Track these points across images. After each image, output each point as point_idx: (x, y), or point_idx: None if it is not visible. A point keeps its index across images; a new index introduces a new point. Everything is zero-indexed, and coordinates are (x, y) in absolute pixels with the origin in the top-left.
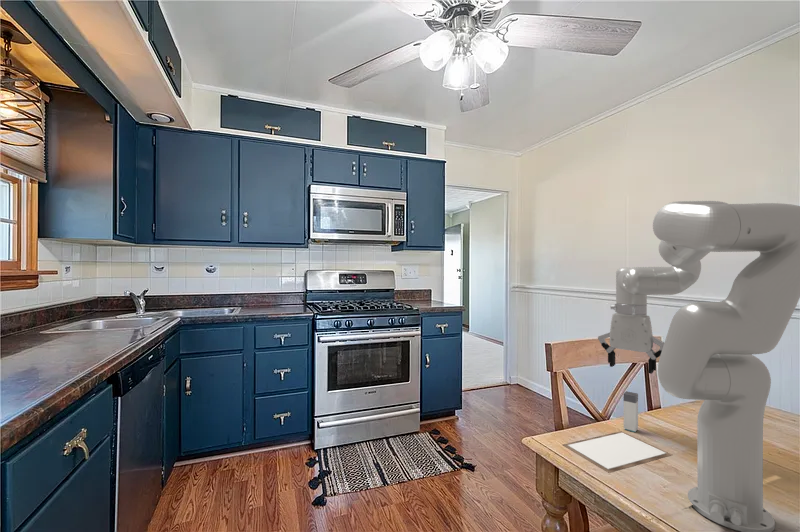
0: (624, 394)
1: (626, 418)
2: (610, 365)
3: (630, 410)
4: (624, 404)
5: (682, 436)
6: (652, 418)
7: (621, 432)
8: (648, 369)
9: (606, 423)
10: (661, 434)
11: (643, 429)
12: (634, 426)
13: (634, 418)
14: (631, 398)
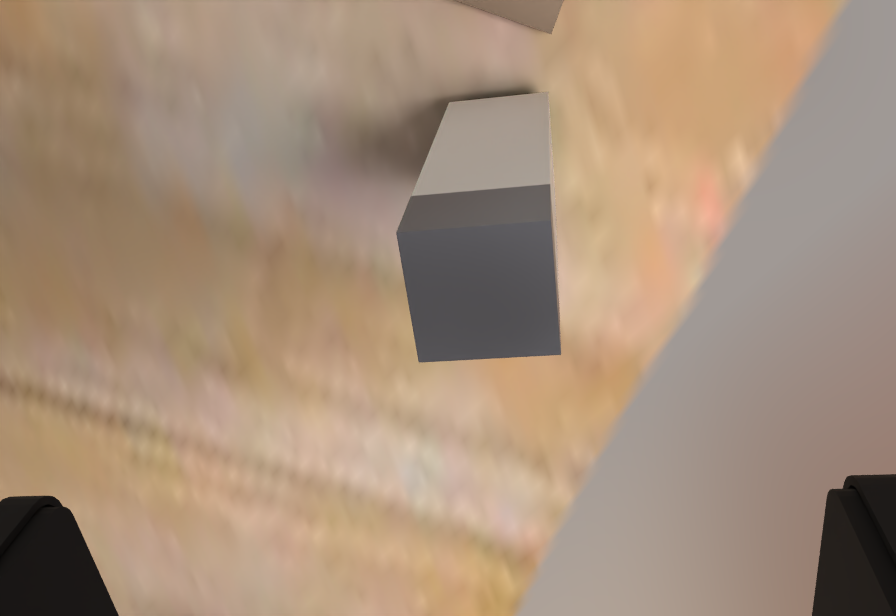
0: (538, 218)
1: (521, 123)
2: (892, 488)
3: (477, 158)
4: (539, 168)
5: (237, 344)
6: (479, 507)
7: (541, 3)
8: (13, 553)
9: (721, 166)
10: (335, 275)
11: None
12: (454, 113)
13: (446, 136)
14: (452, 212)
